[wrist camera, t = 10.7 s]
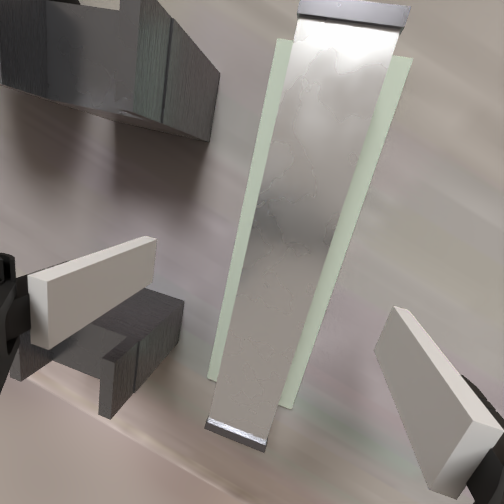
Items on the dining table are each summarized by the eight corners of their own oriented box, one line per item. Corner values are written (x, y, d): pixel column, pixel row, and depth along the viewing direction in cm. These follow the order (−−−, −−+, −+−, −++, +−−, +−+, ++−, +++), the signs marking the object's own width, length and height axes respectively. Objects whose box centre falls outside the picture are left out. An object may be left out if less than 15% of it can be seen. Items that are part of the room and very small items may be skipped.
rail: (273, 401, 26) (264, 452, 21) (224, 383, 26) (204, 428, 22) (382, 57, 17) (411, 6, 12) (304, 46, 18) (301, -7, 13)
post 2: (104, 316, 29) (9, 376, 20) (106, 275, 27) (4, 320, 18) (177, 342, 27) (111, 420, 18) (184, 301, 26) (115, 363, 17)
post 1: (114, 121, 23) (-15, 80, 14) (118, 55, 21) (-25, -39, 12) (209, 142, 21) (134, 112, 12) (220, 73, 20) (144, -18, 11)
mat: (209, 374, 27) (206, 378, 27) (278, 42, 18) (277, 38, 18) (291, 404, 26) (291, 409, 25) (410, 62, 17) (413, 58, 17)
